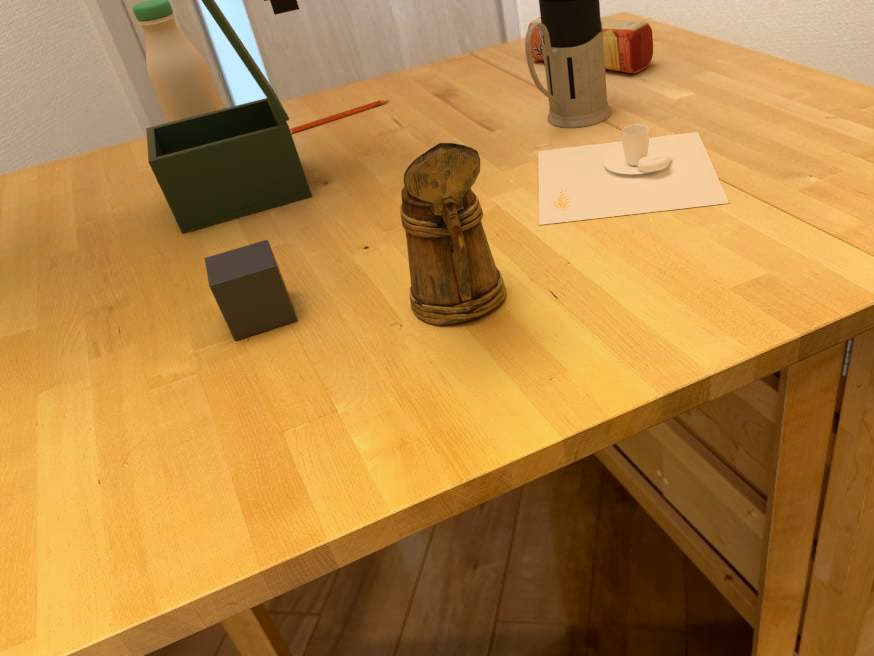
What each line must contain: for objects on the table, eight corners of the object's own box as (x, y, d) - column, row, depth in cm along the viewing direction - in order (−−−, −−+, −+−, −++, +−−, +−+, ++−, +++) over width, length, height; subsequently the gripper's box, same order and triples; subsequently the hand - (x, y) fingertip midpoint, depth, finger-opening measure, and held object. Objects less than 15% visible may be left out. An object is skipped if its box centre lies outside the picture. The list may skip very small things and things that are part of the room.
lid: (185, -24, 77) (259, -68, 77) (179, -41, 86) (245, -80, 87) (284, 123, 88) (348, 84, 89) (269, 94, 98) (327, 59, 98)
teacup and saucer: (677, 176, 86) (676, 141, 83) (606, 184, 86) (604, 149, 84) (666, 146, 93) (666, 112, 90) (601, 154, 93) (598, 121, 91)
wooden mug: (432, 364, 64) (377, 159, 53) (403, 288, 74) (352, 102, 63) (532, 335, 66) (500, 129, 54) (490, 265, 76) (456, 78, 64)
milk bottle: (243, 153, 109) (185, -1, 96) (189, 169, 106) (121, 14, 94) (232, 138, 114) (175, -9, 101) (180, 154, 112) (115, 5, 99)
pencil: (281, 136, 113) (279, 131, 112) (390, 101, 119) (389, 96, 119) (283, 137, 112) (281, 133, 112) (392, 102, 118) (391, 97, 118)
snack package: (526, 63, 125) (520, 18, 120) (552, 51, 128) (548, 7, 124) (631, 79, 113) (629, 30, 108) (657, 64, 116) (656, 16, 112)
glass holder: (623, 106, 105) (616, -15, 95) (567, 147, 96) (554, 18, 87) (569, 100, 109) (558, -16, 99) (511, 139, 101) (493, 16, 91)
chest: (182, 233, 91) (148, 161, 85) (176, 195, 100) (146, 128, 94) (312, 196, 94) (288, 125, 89) (295, 162, 104) (272, 96, 98)
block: (234, 341, 71) (209, 286, 67) (228, 311, 75) (204, 257, 71) (298, 320, 72) (276, 265, 68) (288, 292, 77) (267, 239, 73)
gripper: (251, -274, 66) (330, 13, 80) (228, -255, 81) (298, -17, 95) (162, -261, 64) (259, 30, 79) (155, -245, 79) (238, -4, 94)
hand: (280, 4), depth 87 cm, fingers open, 8 cm apart
